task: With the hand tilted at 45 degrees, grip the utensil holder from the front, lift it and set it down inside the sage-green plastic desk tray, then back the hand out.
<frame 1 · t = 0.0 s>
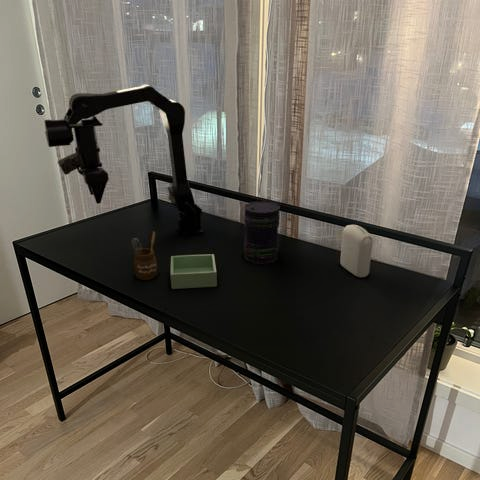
hand: (95, 198, 150), 15 cm above the table, tool pointing down, fingers open, 9 cm apart
photo printer: (353, 270, 140), on the table
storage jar: (261, 257, 149), on the table
tray: (193, 277, 137), on the table
utensil holder: (147, 276, 139), on the table
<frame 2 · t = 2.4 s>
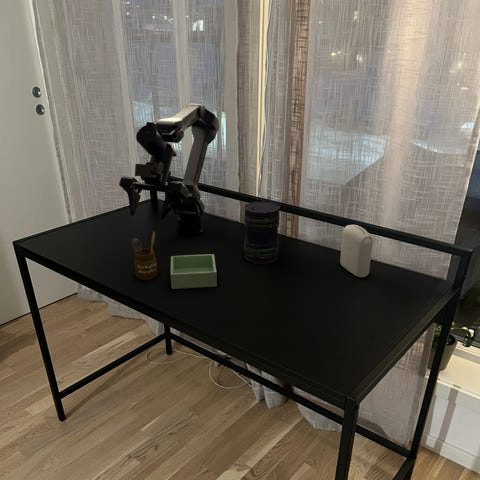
hand: (146, 217, 139), 14 cm above the table, tool tilted 40°, fingers open, 9 cm apart
nothing on the table moved.
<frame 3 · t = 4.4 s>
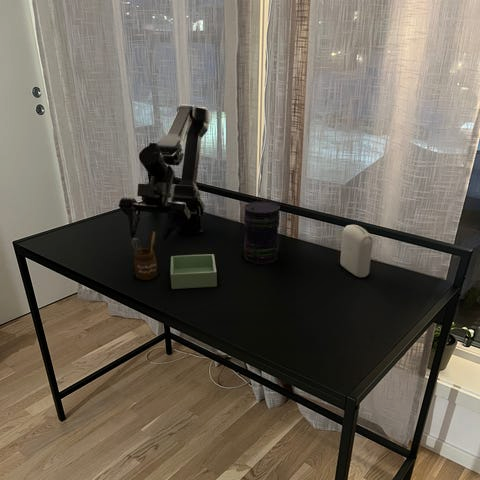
hand: (147, 238, 136), 10 cm above the table, tool tilted 45°, fingers open, 9 cm apart
nothing on the table moved.
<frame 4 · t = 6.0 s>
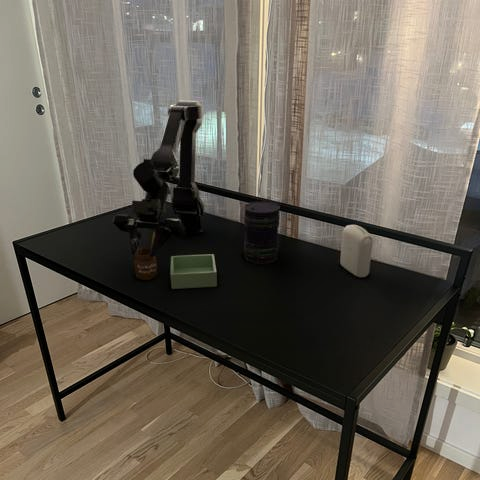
hand: (142, 255, 134), 7 cm above the table, tool tilted 45°, fingers closed on utensil holder, 5 cm apart
utensil holder: (147, 276, 139), on the table, touching gripper
everything else where it was.
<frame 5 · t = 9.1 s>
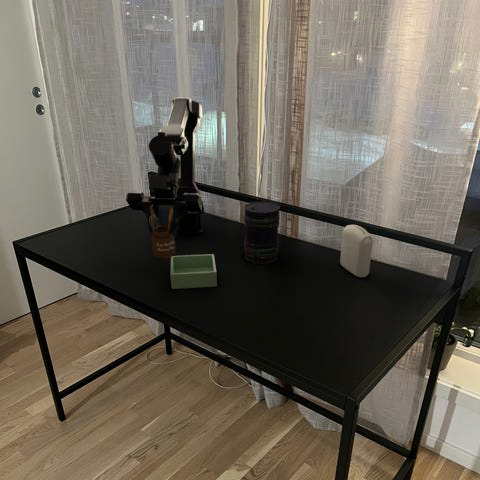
hand: (160, 232, 130), 13 cm above the table, tool tilted 45°, fingers closed on utensil holder, 5 cm apart
utensil holder: (164, 255, 134), point 6 cm above the table, touching gripper
everything else where it was.
when the fingers open (7 cm above the table, at t = 12.4 s): utensil holder stays where it is, resting on tray.
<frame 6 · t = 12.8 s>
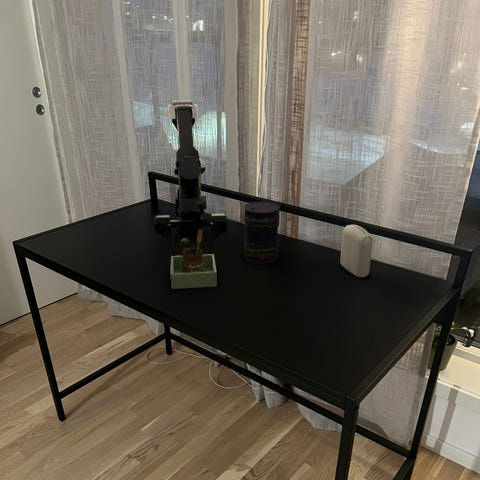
hand: (192, 254, 132), 7 cm above the table, tool tilted 45°, fingers open, 9 cm apart
utensil holder: (194, 276, 137), resting on tray
everything else where it was.
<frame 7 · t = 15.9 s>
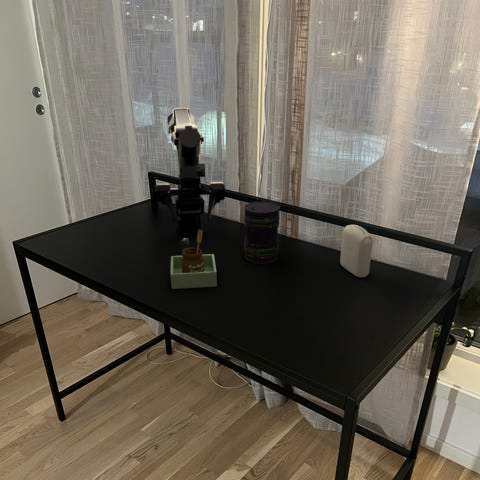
hand: (191, 220, 137), 13 cm above the table, tool tilted 45°, fingers open, 9 cm apart
nothing on the table moved.
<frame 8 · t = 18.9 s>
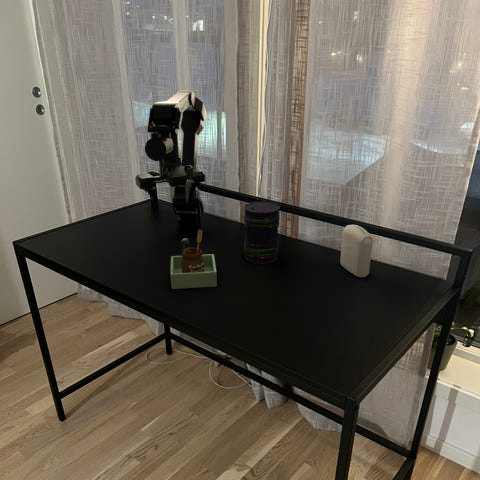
hand: (172, 208, 147), 13 cm above the table, tool pointing down, fingers open, 9 cm apart
nothing on the table moved.
at the end: utensil holder 0.2 cm off-centre in the tray, point 0.4 cm above the tray's base; utensil holder tilted 0°; the gripper is holding nothing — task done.
